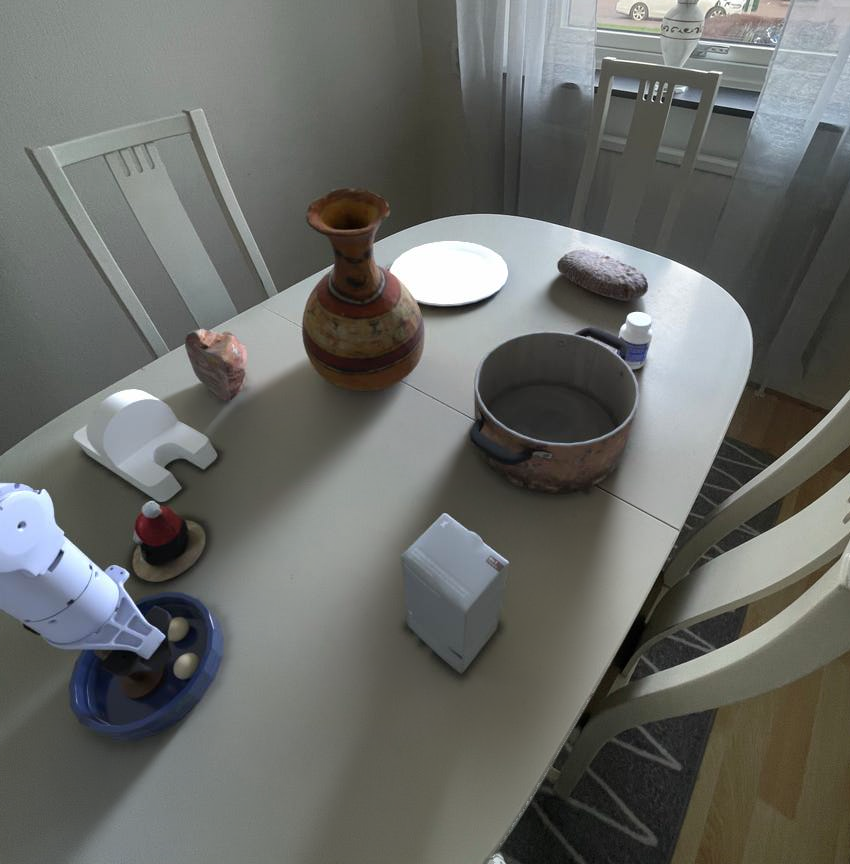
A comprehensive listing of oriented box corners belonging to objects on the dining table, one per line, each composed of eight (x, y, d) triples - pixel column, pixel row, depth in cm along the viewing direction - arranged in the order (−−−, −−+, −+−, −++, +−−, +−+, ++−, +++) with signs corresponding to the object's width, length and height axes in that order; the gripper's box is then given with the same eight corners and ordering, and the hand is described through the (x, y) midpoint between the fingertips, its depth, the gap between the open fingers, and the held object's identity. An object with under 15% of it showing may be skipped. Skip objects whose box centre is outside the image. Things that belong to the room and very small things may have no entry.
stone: (192, 376, 87) (167, 329, 80) (237, 351, 92) (217, 305, 85) (233, 411, 81) (209, 364, 74) (278, 383, 86) (261, 336, 79)
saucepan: (545, 352, 91) (550, 302, 84) (661, 412, 81) (680, 360, 74) (426, 456, 75) (420, 405, 68) (553, 547, 65) (563, 498, 57)
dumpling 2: (187, 688, 53) (181, 673, 51) (171, 678, 53) (165, 663, 52) (207, 668, 54) (202, 653, 53) (192, 659, 55) (186, 644, 54)
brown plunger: (142, 708, 52) (93, 678, 45) (116, 688, 53) (64, 655, 46) (176, 669, 54) (133, 635, 48) (150, 651, 56) (105, 615, 49)
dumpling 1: (179, 626, 55) (197, 618, 57) (161, 618, 55) (180, 610, 58) (173, 648, 55) (191, 639, 57) (155, 640, 55) (174, 631, 58)
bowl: (159, 765, 49) (142, 757, 46) (57, 709, 52) (36, 699, 50) (250, 629, 58) (239, 617, 55) (158, 589, 61) (144, 575, 59)
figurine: (103, 515, 64) (157, 466, 60) (181, 537, 70) (236, 494, 66) (81, 579, 58) (140, 529, 54) (169, 596, 64) (227, 553, 60)
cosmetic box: (406, 626, 58) (388, 559, 47) (449, 579, 62) (442, 506, 51) (464, 680, 54) (459, 619, 43) (505, 625, 58) (511, 557, 47)
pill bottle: (647, 370, 88) (659, 329, 82) (616, 370, 88) (626, 329, 82) (640, 350, 92) (652, 309, 86) (611, 350, 92) (620, 309, 86)
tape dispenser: (162, 504, 69) (124, 454, 62) (83, 451, 76) (39, 400, 68) (220, 455, 75) (191, 404, 68) (142, 410, 82) (107, 358, 74)
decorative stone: (660, 284, 107) (666, 262, 103) (630, 317, 99) (636, 295, 95) (577, 255, 115) (580, 234, 112) (543, 283, 107) (545, 262, 104)
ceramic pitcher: (326, 418, 80) (272, 243, 60) (302, 342, 94) (251, 178, 73) (444, 381, 86) (431, 211, 65) (406, 315, 99) (385, 156, 78)
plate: (455, 234, 122) (454, 229, 121) (532, 277, 109) (532, 271, 108) (365, 273, 110) (365, 268, 109) (440, 326, 97) (440, 321, 96)
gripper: (161, 571, 42) (220, 634, 52) (33, 516, 46) (110, 584, 55) (86, 658, 37) (166, 710, 47) (-49, 589, 41) (50, 650, 51)
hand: (132, 647), depth 51 cm, fingers open, 7 cm apart
